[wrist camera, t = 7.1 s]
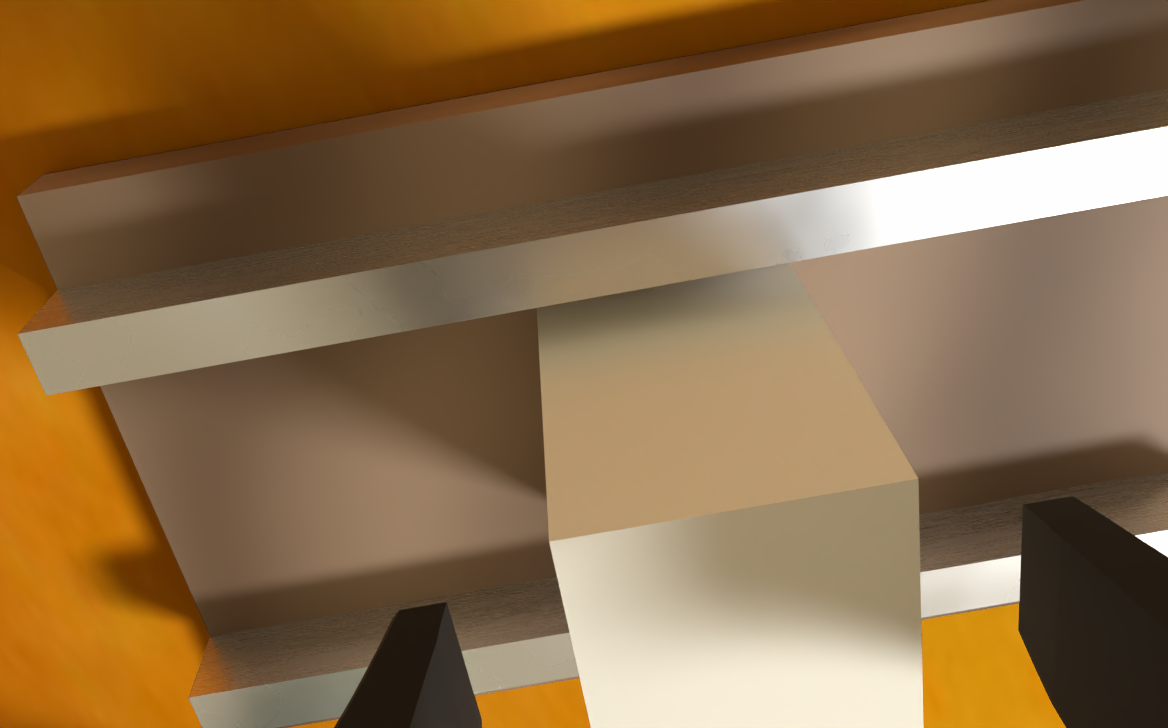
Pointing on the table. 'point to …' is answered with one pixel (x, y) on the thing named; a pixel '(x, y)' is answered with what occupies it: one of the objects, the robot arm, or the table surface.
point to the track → (603, 267)
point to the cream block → (727, 512)
